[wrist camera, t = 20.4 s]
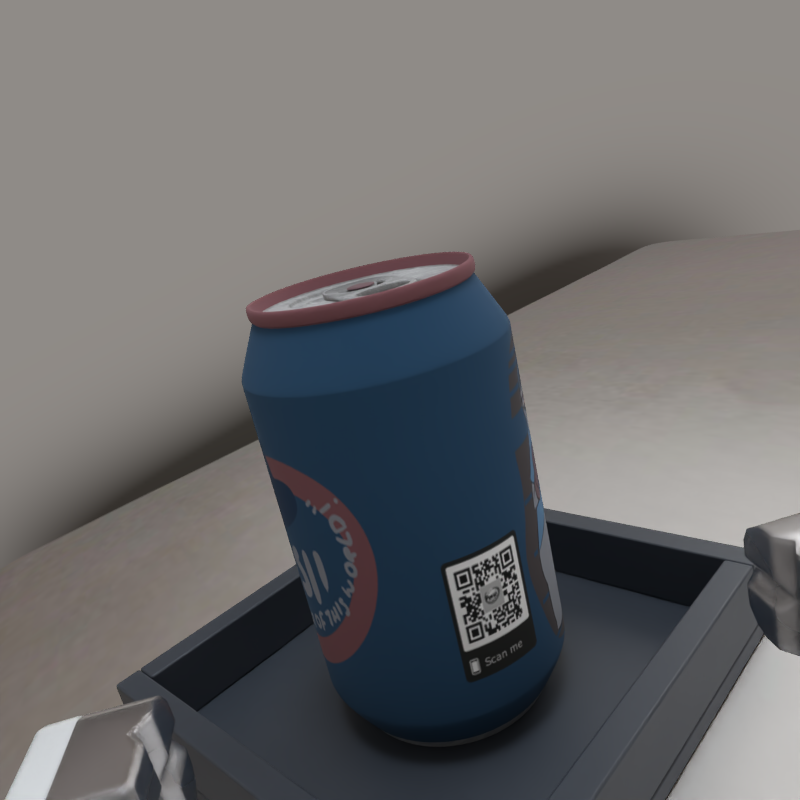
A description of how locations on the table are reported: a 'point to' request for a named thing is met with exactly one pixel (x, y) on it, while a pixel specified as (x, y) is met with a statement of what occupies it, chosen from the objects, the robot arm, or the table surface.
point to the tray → (513, 746)
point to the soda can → (409, 493)
